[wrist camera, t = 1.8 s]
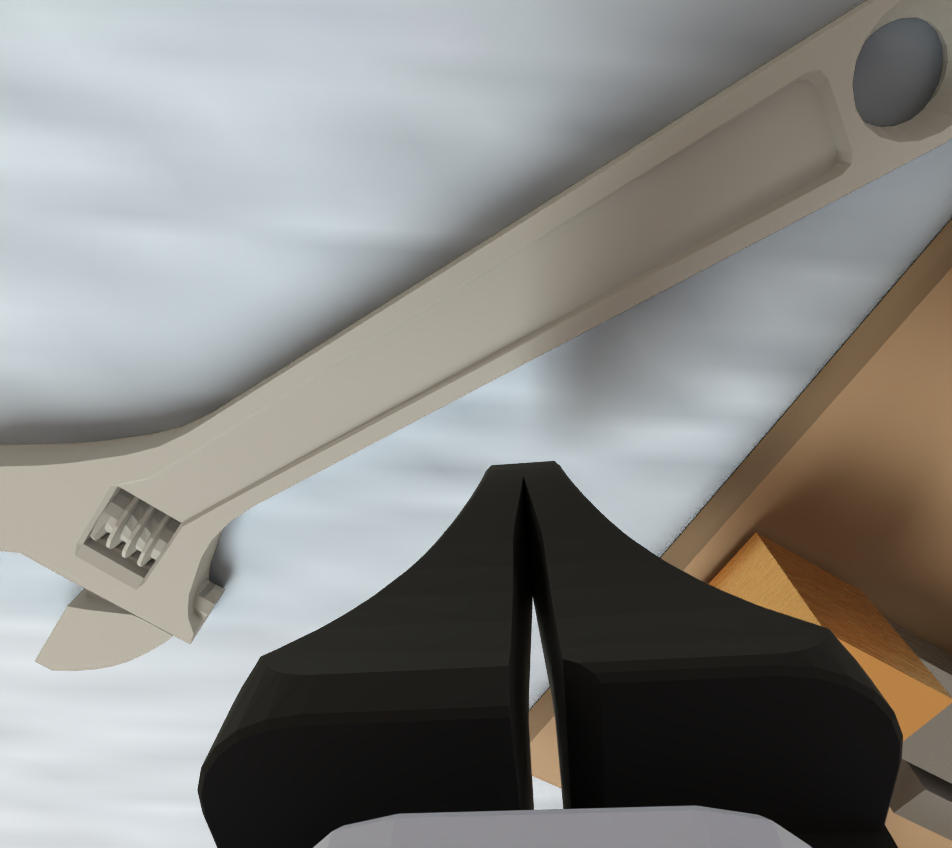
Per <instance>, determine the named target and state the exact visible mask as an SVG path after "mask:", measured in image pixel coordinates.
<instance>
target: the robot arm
mask: <svg viewBox="0 0 952 848" xmlns="http://www.w3.org/2000/svg"><path fill="white" fill-rule="evenodd" d="M533 600H534V605H535V611H536V616H537V621H538V627H539V632H540V637H541V642H542V648H543V653H544V658H545V663H546V669H547V674H548V679H549V684H550V690H551V695H552V702H553V709H554V715H555V724H556V734H557V745H558V756H559V767H560V778H561V788H562V799H563V809H551V810H534V803H533V786H532V768H531V750H530V733H529V678H530V653H531V628H532V601H533ZM902 747H903V734H902V731H901V728H900V726H899V723H898V720H897V717H896V715H895V712H894V711H893V709H892V708H891V707H890V705H889V704H888V702H887V701H886V700H885V698H884V697H883V695H882V694H881V693H880V691H879V690H878V689H877V687H876V686H875V684H874V683H873V681H872V680H871V679H870V677H869V676H868V675H867V673H866V672H865V671H864V670H863V668H862V667H861V666H860V664H859V663H858V662H857V660H856V659H855V658H854V657H853V656H852V655H851V654H850V652H849V651H848V650H847V649H846V648H845V647H844V646H843V645H842V643H841V642H840V641H839V640H838V639H837V638H836V636H835V635H834V634H833V633H832V632H831V630H830V629H828V628H825V627H822V626H819V625H816V624H813V623H810V622H807V621H804V620H801V619H798V618H795V617H792V616H789V615H786V614H783V613H779V612H776V611H773V610H770V609H767V608H764V607H761V606H759V605H756V604H754V603H751V602H749V601H746V600H744V599H742V598H739V597H737V596H734V595H732V594H729V593H727V592H725V591H722V590H720V589H718V588H716V587H714V586H712V585H709V584H707V583H705V582H703V581H701V580H699V579H697V578H695V577H693V576H691V575H689V574H688V573H686V572H684V571H682V570H680V569H678V568H676V567H675V566H673V565H671V564H669V563H668V562H666V561H664V560H663V559H661V558H659V557H658V556H656V555H654V554H653V553H651V552H650V551H649V550H647V549H646V548H644V547H643V546H641V545H640V544H638V543H637V542H635V541H634V540H632V539H631V538H630V537H628V536H627V535H626V534H624V533H623V532H622V531H621V530H620V529H619V528H617V527H616V526H615V525H614V524H613V523H612V522H610V521H609V520H608V519H607V518H606V517H605V516H604V515H603V514H602V513H601V512H600V511H599V510H598V509H597V508H596V507H595V506H594V505H593V504H592V503H591V502H590V501H589V500H588V499H587V498H586V497H585V496H584V495H583V494H582V493H581V492H580V491H579V489H578V488H577V487H576V486H575V485H574V484H573V482H572V481H571V480H570V479H569V477H568V476H567V475H566V474H565V472H564V471H563V470H562V468H561V466H560V465H558V464H557V463H556V462H555V461H547V462H533V463H519V464H505V465H491V466H490V467H489V469H488V470H487V471H486V472H485V474H484V476H483V478H482V480H481V482H480V484H479V485H478V487H477V488H476V490H475V492H474V493H473V495H472V496H471V498H470V499H469V501H468V502H467V504H466V505H465V506H464V508H463V509H462V511H461V512H460V514H459V515H458V516H457V518H456V519H455V520H454V522H453V523H452V524H451V525H450V526H449V528H448V529H447V530H446V531H445V532H444V533H443V535H442V536H441V537H440V538H439V539H438V541H437V542H436V543H435V544H434V545H433V546H432V547H431V548H430V549H429V550H428V551H427V553H426V554H425V555H424V556H423V557H421V558H420V559H419V560H418V561H417V562H416V563H415V564H414V565H413V566H412V567H411V568H409V569H408V570H407V571H406V572H404V573H403V574H402V575H401V576H399V577H398V578H397V579H395V580H394V581H393V582H391V583H390V584H389V585H387V586H386V587H385V588H383V589H382V590H381V591H380V592H378V593H377V594H376V595H374V596H373V597H371V598H370V599H368V600H367V601H365V602H364V603H362V604H361V605H359V606H357V607H356V608H354V609H353V610H351V611H350V612H348V613H346V614H344V615H343V616H341V617H339V618H338V619H336V620H334V621H332V622H331V623H329V624H327V625H325V626H323V627H322V628H320V629H318V630H316V631H314V632H312V633H310V634H308V635H306V636H304V637H301V638H299V639H297V640H295V641H293V642H291V643H289V644H287V645H285V646H283V647H281V648H279V649H277V650H275V651H272V652H270V653H268V654H265V655H263V656H261V657H260V659H259V660H258V662H257V664H256V665H255V667H254V669H253V670H252V672H251V674H250V675H249V677H248V678H247V680H246V681H245V683H244V685H243V686H242V688H241V690H240V692H239V694H238V695H237V697H236V699H235V701H234V703H233V705H232V707H231V709H230V711H229V713H228V715H227V717H226V719H225V721H224V723H223V725H222V727H221V729H220V731H219V733H218V735H217V737H216V739H215V741H214V743H213V745H212V747H211V749H210V751H209V753H208V755H207V757H206V759H205V761H204V763H203V765H202V767H201V772H200V778H199V784H198V795H199V799H200V803H201V808H202V812H203V815H204V817H205V820H206V822H207V824H208V827H209V829H210V831H211V834H212V836H213V838H214V841H215V843H216V846H217V848H898V846H897V845H896V843H895V841H894V839H893V838H892V836H891V834H890V833H889V831H888V829H887V827H886V826H885V822H886V818H887V814H888V811H889V807H890V803H891V799H892V795H893V791H894V788H895V784H896V780H897V776H898V772H899V769H900V765H901V761H902Z"/></svg>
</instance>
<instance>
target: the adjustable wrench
mask: <svg viewBox="0 0 952 848" xmlns="http://www.w3.org/2000/svg"><path fill="white" fill-rule="evenodd" d="M911 17H916V18H919V19H923V20H925V21H926V22H928V23H929V24H930V25H931V26H932V27H933V28H934V29H935V31H936V33H937V35H938V37H939V39H940V41H941V44H942V53H943V66H942V71H941V76H940V81H939V83H938V85H937V87H936V89H935V91H934V93H933V95H932V97H931V99H930V101H929V102H928V103H927V104H926V106H925V107H924V108H923V109H922V111H921V112H920V113H919V114H917V115H916V116H915V117H913V118H912V119H911V120H908V121H906V122H903V123H901V124H898V125H896V126H887V127H878V126H875V125H871V124H868V123H866V122H865V121H863V120H862V119H861V117H860V115H859V113H858V111H857V109H856V108H855V101H854V94H853V87H852V83H853V77H854V70H855V64H856V60H857V58H858V55H859V53H860V51H861V48H862V46H863V44H864V42H865V41H866V40H867V38H868V37H869V36H870V35H872V34H873V33H874V32H875V31H877V30H878V29H879V28H880V27H882V26H883V25H885V24H888V23H890V22H892V21H895V20H897V19H900V18H911ZM951 138H952V0H867V1H864V2H863V3H861V4H859V5H858V6H856V7H855V8H853V9H852V10H850V11H848V12H847V13H845V14H844V15H842V16H840V17H839V18H837V19H836V20H834V21H833V22H831V23H829V24H828V25H826V26H825V27H823V28H821V29H820V30H818V31H817V32H815V33H813V34H812V35H810V36H809V37H807V38H806V39H804V40H802V41H801V42H799V43H798V44H796V45H794V46H793V47H791V48H790V49H788V50H786V51H785V52H783V53H782V54H780V55H779V56H777V57H775V58H774V59H772V60H771V61H769V62H767V63H766V64H764V65H763V66H761V67H759V68H758V69H756V70H755V71H753V72H752V73H750V74H748V75H747V76H745V77H744V78H742V79H740V80H739V81H737V82H736V83H734V84H733V85H731V86H729V87H728V88H726V89H725V90H723V91H721V92H720V93H718V94H717V95H715V96H713V97H712V98H710V99H709V100H707V101H706V102H704V103H702V104H701V105H699V106H698V107H696V108H694V109H693V110H691V111H690V112H688V113H686V114H685V115H683V116H682V117H680V118H679V119H677V120H675V121H674V122H672V123H671V124H669V125H667V126H666V127H664V128H663V129H661V130H660V131H658V132H656V133H655V134H653V135H652V136H650V137H648V138H647V139H645V140H644V141H642V142H640V143H639V144H637V145H636V146H634V147H633V148H631V149H629V150H628V151H626V152H625V153H623V154H621V155H620V156H618V157H617V158H615V159H613V160H612V161H610V162H609V163H607V164H606V165H604V166H602V167H601V168H599V169H598V170H596V171H594V172H593V173H591V174H590V175H588V176H586V177H585V178H583V179H582V180H580V181H579V182H577V183H575V184H574V185H572V186H571V187H569V188H567V189H566V190H564V191H563V192H561V193H560V194H558V195H556V196H555V197H553V198H552V199H550V200H548V201H547V202H545V203H544V204H542V205H540V206H539V207H537V208H536V209H534V210H533V211H531V212H529V213H528V214H526V215H525V216H523V217H521V218H520V219H518V220H517V221H515V222H513V223H512V224H510V225H509V226H507V227H506V228H504V229H502V230H501V231H499V232H498V233H496V234H494V235H493V236H491V237H490V238H488V239H487V240H485V241H483V242H482V243H480V244H479V245H477V246H475V247H474V248H472V249H471V250H469V251H467V252H466V253H464V254H463V255H461V256H460V257H458V258H456V259H455V260H453V261H452V262H450V263H448V264H447V265H445V266H444V267H442V268H440V269H439V270H437V271H436V272H434V273H433V274H431V275H429V276H428V277H426V278H425V279H423V280H421V281H420V282H418V283H417V284H415V285H413V286H412V287H410V288H409V289H407V290H406V291H404V292H402V293H401V294H399V295H398V296H396V297H394V298H393V299H391V300H390V301H388V302H387V303H385V304H383V305H382V306H380V307H379V308H377V309H375V310H374V311H372V312H371V313H369V314H367V315H366V316H364V317H363V318H361V319H360V320H358V321H356V322H355V323H353V324H352V325H350V326H348V327H347V328H345V329H344V330H342V331H340V332H339V333H337V334H336V335H334V336H333V337H331V338H329V339H328V340H326V341H325V342H323V343H321V344H320V345H318V346H317V347H315V348H314V349H312V350H310V351H309V352H307V353H306V354H304V355H302V356H301V357H299V358H298V359H296V360H294V361H293V362H291V363H290V364H288V365H287V366H285V367H283V368H282V369H280V370H279V371H277V372H275V373H274V374H272V375H271V376H269V377H267V378H266V379H264V380H263V381H261V382H260V383H258V384H256V385H255V386H253V387H252V388H250V389H248V390H247V391H245V392H244V393H242V394H240V395H239V396H237V397H236V398H234V399H233V400H231V401H229V402H228V403H226V404H225V405H223V406H221V407H220V408H218V409H217V410H215V411H214V412H212V413H210V414H208V415H206V416H204V417H201V418H199V419H197V420H195V421H193V422H191V423H189V424H187V425H184V426H181V427H177V428H173V429H169V430H165V431H162V432H158V433H153V434H146V435H139V436H132V437H125V438H118V439H111V440H104V441H93V442H81V443H53V444H12V445H0V551H6V552H15V553H22V554H23V555H25V556H27V557H29V558H30V559H32V560H34V561H36V562H37V563H39V564H41V565H43V566H44V567H46V568H48V569H50V570H52V571H54V572H55V573H57V574H59V575H61V576H63V577H65V578H67V579H69V580H70V581H72V582H74V583H76V584H78V585H80V586H82V587H84V590H83V591H82V592H81V593H80V594H79V595H78V596H77V597H76V598H75V599H74V600H73V601H72V602H71V603H70V604H69V605H68V606H67V607H66V609H65V611H64V612H63V614H62V616H61V617H60V619H59V621H58V622H57V624H56V626H55V628H54V629H53V631H52V633H51V634H50V636H49V638H48V639H47V641H46V643H45V644H44V646H43V648H42V649H41V651H40V653H39V655H38V656H37V658H36V660H35V662H37V663H39V664H41V665H43V666H45V667H47V668H48V669H50V670H61V671H78V670H93V669H99V668H105V667H111V666H115V665H118V664H121V663H125V662H128V661H130V660H133V659H135V658H137V657H139V656H141V655H143V654H145V653H147V652H149V651H151V650H153V649H155V648H156V647H158V646H159V645H161V644H163V643H164V642H166V641H168V640H169V639H170V638H171V637H172V636H173V635H174V636H176V637H177V638H179V639H181V640H183V641H185V642H187V643H189V644H191V642H192V641H193V639H194V637H195V636H196V634H197V633H198V631H199V630H200V628H201V627H202V625H203V624H204V622H205V620H206V619H207V617H208V616H209V614H210V613H211V610H212V608H213V607H214V605H215V604H216V602H217V601H218V600H219V598H220V597H221V595H222V594H223V592H224V590H225V589H223V588H221V587H220V586H218V585H216V584H214V583H213V582H211V581H209V572H210V565H211V562H212V559H213V556H214V553H215V550H216V547H217V544H218V541H219V538H220V535H221V532H222V529H223V528H224V527H225V526H226V525H227V524H228V523H229V522H231V521H232V520H234V519H235V518H237V517H238V516H239V515H241V514H242V513H244V512H245V511H247V510H248V509H250V508H251V507H253V506H255V505H257V504H258V503H260V502H262V501H264V500H266V499H268V498H270V497H272V496H274V495H276V494H277V493H279V492H281V491H283V490H285V489H287V488H289V487H291V486H293V485H295V484H297V483H298V482H300V481H302V480H304V479H306V478H308V477H310V476H312V475H314V474H316V473H317V472H319V471H321V470H323V469H325V468H327V467H329V466H331V465H333V464H335V463H336V462H338V461H340V460H342V459H344V458H346V457H348V456H350V455H352V454H354V453H356V452H357V451H359V450H361V449H363V448H365V447H367V446H369V445H371V444H373V443H375V442H376V441H378V440H380V439H382V438H384V437H386V436H388V435H390V434H392V433H394V432H396V431H397V430H399V429H401V428H403V427H405V426H407V425H409V424H411V423H413V422H415V421H416V420H418V419H420V418H422V417H424V416H426V415H428V414H430V413H432V412H434V411H435V410H437V409H439V408H441V407H443V406H445V405H447V404H449V403H451V402H453V401H455V400H456V399H458V398H460V397H462V396H464V395H466V394H468V393H470V392H472V391H474V390H475V389H477V388H479V387H481V386H483V385H485V384H487V383H489V382H491V381H493V380H494V379H496V378H498V377H500V376H502V375H504V374H506V373H508V372H510V371H512V370H514V369H515V368H517V367H519V366H521V365H523V364H525V363H527V362H529V361H531V360H533V359H534V358H536V357H538V356H540V355H542V354H544V353H546V352H548V351H550V350H552V349H553V348H555V347H557V346H559V345H561V344H563V343H565V342H567V341H569V340H571V339H573V338H574V337H576V336H578V335H580V334H582V333H584V332H586V331H588V330H590V329H592V328H593V327H595V326H597V325H599V324H601V323H603V322H605V321H607V320H609V319H611V318H613V317H614V316H616V315H618V314H620V313H622V312H624V311H626V310H628V309H630V308H632V307H633V306H635V305H637V304H639V303H641V302H643V301H645V300H647V299H649V298H651V297H652V296H654V295H656V294H658V293H660V292H662V291H664V290H666V289H668V288H670V287H672V286H673V285H675V284H677V283H679V282H681V281H683V280H685V279H687V278H689V277H691V276H692V275H694V274H696V273H698V272H700V271H702V270H704V269H706V268H708V267H710V266H711V265H713V264H715V263H717V262H719V261H721V260H723V259H725V258H727V257H729V256H731V255H732V254H734V253H736V252H738V251H740V250H742V249H744V248H746V247H748V246H750V245H751V244H753V243H755V242H757V241H759V240H761V239H763V238H765V237H767V236H769V235H770V234H772V233H774V232H776V231H778V230H780V229H782V228H784V227H786V226H788V225H790V224H791V223H793V222H795V221H797V220H799V219H801V218H803V217H805V216H807V215H809V214H810V213H812V212H814V211H816V210H818V209H820V208H822V207H824V206H826V205H828V204H829V203H831V202H833V201H835V200H837V199H839V198H841V197H843V196H845V195H847V194H849V193H850V192H852V191H854V190H856V189H858V188H860V187H862V186H864V185H866V184H868V183H869V182H871V181H873V180H875V179H877V178H879V177H881V176H883V175H885V174H887V173H889V172H890V171H892V170H894V169H896V168H898V167H900V166H902V165H904V164H906V163H908V162H909V161H911V160H913V159H915V158H917V157H919V156H921V155H923V154H925V153H927V152H928V151H930V150H932V149H934V148H936V147H938V146H940V145H942V144H944V143H945V142H947V141H948V140H949V139H951Z"/></svg>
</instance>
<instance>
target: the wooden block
mask: <svg viewBox="0 0 952 848" xmlns="http://www.w3.org/2000/svg"><path fill="white" fill-rule="evenodd" d="M709 585H712V586H714V587H716V588H718V589H720V590H722V591H725V592H727V593H729V594H732V595H734V596H737V597H739V598H742V599H744V600H746V601H749V602H751V603H754V604H756V605H759V606H761V607H764V608H767V609H770V610H773V611H776V612H779V613H783V614H786V615H789V616H792V617H795V618H798V619H801V620H804V621H807V622H810V623H813V624H816V625H819V626H822V627H825V628H828V629H830V630H831V632H832V633H833V634H834V635H835V636H836V638H837V639H838V640H839V641H840V642H841V643H842V645H843V646H844V647H845V648H846V649H847V650H848V651H849V652H850V654H851V655H852V656H853V657H854V658H855V659H856V660H857V662H858V663H859V664H860V666H861V667H862V668H863V670H864V671H865V672H866V673H867V675H868V676H869V677H870V679H871V680H872V681H873V683H874V684H875V686H876V687H877V689H878V690H879V691H880V693H881V694H882V695H883V697H884V698H885V700H886V701H887V702H888V704H889V705H890V707H891V708H892V709H893V711H894V712H895V715H896V717H897V720H898V723H899V726H900V728H901V731H902V734H903V747H902V759H903V760H905V761H907V762H909V763H911V764H913V765H915V766H917V767H919V768H921V769H923V770H925V771H927V772H929V773H931V774H933V775H935V776H937V777H939V778H941V779H943V780H945V781H947V782H949V783H951V784H952V654H950V653H948V652H946V651H944V650H943V649H941V648H939V647H937V646H935V645H933V644H932V643H930V642H928V641H926V640H924V639H922V638H921V637H919V636H917V635H915V634H913V633H912V632H910V631H908V630H906V629H904V628H902V627H901V626H899V625H897V624H895V623H893V622H892V621H890V620H888V619H886V618H884V616H883V615H882V614H881V613H880V612H879V611H878V609H877V608H876V607H875V606H874V605H873V604H872V602H871V601H870V600H869V599H868V598H867V596H866V595H865V594H864V593H863V592H862V591H861V590H859V589H858V588H856V587H854V586H852V585H850V584H849V583H847V582H845V581H843V580H841V579H840V578H838V577H836V576H834V575H832V574H831V573H829V572H827V571H825V570H823V569H822V568H820V567H818V566H816V565H814V564H813V563H811V562H809V561H807V560H805V559H804V558H802V557H800V556H798V555H796V554H795V553H793V552H791V551H789V550H787V549H785V548H784V547H782V546H780V545H778V544H776V543H775V542H773V541H771V540H769V539H767V538H766V537H764V536H762V535H760V534H758V533H757V532H756V533H755V534H754V535H753V536H752V537H751V538H750V539H749V540H748V542H747V543H746V544H745V545H744V546H743V547H742V548H741V549H740V550H739V551H738V552H737V554H736V555H735V556H734V557H733V558H732V559H731V560H730V561H729V562H728V563H727V564H726V565H725V567H724V568H723V569H722V570H721V571H720V572H719V573H718V574H717V575H716V576H715V577H714V579H713V580H712V581H711V582H710V583H709Z"/></svg>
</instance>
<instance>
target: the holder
mask: <svg viewBox="0 0 952 848" xmlns="http://www.w3.org/2000/svg"><path fill="white" fill-rule="evenodd" d="M756 532H757V533H758V534H760V535H762V536H764V537H766V538H767V539H769V540H771V541H773V542H775V543H776V544H778V545H780V546H782V547H784V548H785V549H787V550H789V551H791V552H793V553H795V554H796V555H798V556H800V557H802V558H804V559H805V560H807V561H809V562H811V563H813V564H814V565H816V566H818V567H820V568H822V569H823V570H825V571H827V572H829V573H831V574H832V575H834V576H836V577H838V578H840V579H841V580H843V581H845V582H847V583H849V584H850V585H852V586H854V587H856V588H858V589H859V590H861V591H862V592H863V593H864V594H865V595H866V596H867V598H868V599H869V600H870V601H871V602H872V604H873V605H874V606H875V607H876V608H877V609H878V611H879V612H880V613H881V614H882V615H883V616H884V618H886V619H888V620H890V621H892V622H893V623H895V624H897V625H899V626H901V627H902V628H904V629H906V630H908V631H910V632H912V633H913V634H915V635H917V636H919V637H921V638H922V639H924V640H926V641H928V642H930V643H932V644H933V645H935V646H937V647H939V648H941V649H943V650H944V651H946V652H948V653H950V654H952V219H951V220H950V221H949V223H948V224H947V225H946V226H945V227H944V228H943V230H942V231H941V232H940V233H939V234H938V235H937V237H936V238H935V239H934V240H933V241H932V242H931V244H930V245H929V246H928V247H927V248H926V249H925V251H924V252H923V253H922V254H921V255H920V256H919V258H918V259H917V260H916V261H915V262H914V263H913V264H912V266H911V267H910V268H909V269H908V270H907V271H906V273H905V274H904V275H903V276H902V277H901V278H900V280H899V281H898V282H897V283H896V284H895V285H894V287H893V288H892V289H891V290H890V291H889V292H888V294H887V295H886V296H885V297H884V298H883V299H882V301H881V302H880V303H879V304H878V305H877V306H876V308H875V309H874V310H873V311H872V312H871V313H870V315H869V316H868V317H867V318H866V319H865V320H864V322H863V323H862V324H861V325H860V326H859V327H858V329H857V330H856V331H855V332H854V333H853V334H852V336H851V337H850V338H849V339H848V340H847V341H846V343H845V344H844V345H843V346H842V347H841V348H840V350H839V351H838V352H837V353H836V354H835V355H834V357H833V358H832V359H831V360H830V361H829V362H828V364H827V365H826V366H825V367H824V368H823V369H822V371H821V372H820V373H819V374H818V375H817V376H816V378H815V379H814V380H813V381H812V382H811V383H810V385H809V386H808V387H807V388H806V389H805V390H804V392H803V393H802V394H801V395H800V396H799V397H798V399H797V400H796V401H795V402H794V403H793V404H792V406H791V407H790V408H789V409H788V410H787V411H786V413H785V414H784V415H783V416H782V417H781V418H780V419H779V421H778V422H777V423H776V424H775V425H774V426H773V428H772V429H771V430H770V431H769V432H768V433H767V435H766V436H765V437H764V438H763V439H762V440H761V442H760V443H759V444H758V445H757V446H756V447H755V449H754V450H753V451H752V452H751V453H750V454H749V456H748V457H747V458H746V459H745V460H744V461H743V463H742V464H741V465H740V466H739V467H738V468H737V470H736V471H735V472H734V473H733V474H732V475H731V477H730V478H729V479H728V480H727V481H726V482H725V484H724V485H723V486H722V487H721V488H720V489H719V491H718V492H717V493H716V494H715V495H714V496H713V498H712V499H711V500H710V501H709V502H708V503H707V505H706V506H705V507H704V508H703V509H702V510H701V512H700V513H699V514H698V515H697V516H696V517H695V519H694V520H693V521H692V522H691V523H690V524H689V526H688V527H687V528H686V529H685V530H684V531H683V533H682V534H681V535H680V536H679V537H678V538H677V540H676V541H675V542H674V543H673V544H672V545H671V547H670V548H669V549H668V550H667V551H666V552H665V554H664V555H663V556H662V557H661V559H663V560H664V561H666V562H668V563H669V564H671V565H673V566H675V567H676V568H678V569H680V570H682V571H684V572H686V573H688V574H689V575H691V576H693V577H695V578H697V579H699V580H701V581H703V582H705V583H707V584H709V583H710V582H711V581H712V580H713V579H714V577H715V576H716V575H717V574H718V573H719V572H720V571H721V570H722V569H723V568H724V567H725V565H726V564H727V563H728V562H729V561H730V560H731V559H732V558H733V557H734V556H735V555H736V554H737V552H738V551H739V550H740V549H741V548H742V547H743V546H744V545H745V544H746V543H747V542H748V540H749V539H750V538H751V537H752V536H753V535H754V534H755V533H756ZM529 733H530V750H531V768H532V776H534V777H536V778H539V779H541V780H543V781H545V782H548V783H550V784H552V785H555V786H557V787H559V788H561V778H560V767H559V756H558V745H557V734H556V724H555V715H554V709H553V702H552V695H551V690H550V688H549V689H548V690H547V691H546V692H545V693H544V695H543V696H542V697H541V698H540V699H539V700H538V702H537V703H536V704H535V705H534V706H533V707H532V709H531V710H530V711H529ZM885 826H886V827H887V829H888V831H889V833H890V834H891V836H892V838H893V839H894V841H895V843H896V845H897V846H898V848H952V784H951V783H949V782H947V781H945V780H943V779H941V778H939V777H937V776H935V775H933V774H931V773H929V772H927V771H925V770H923V769H921V768H919V767H917V766H915V765H913V764H911V763H909V762H907V761H905V760H903V759H902V761H901V765H900V769H899V772H898V776H897V780H896V784H895V788H894V791H893V795H892V799H891V803H890V807H889V811H888V814H887V818H886V822H885Z"/></svg>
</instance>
